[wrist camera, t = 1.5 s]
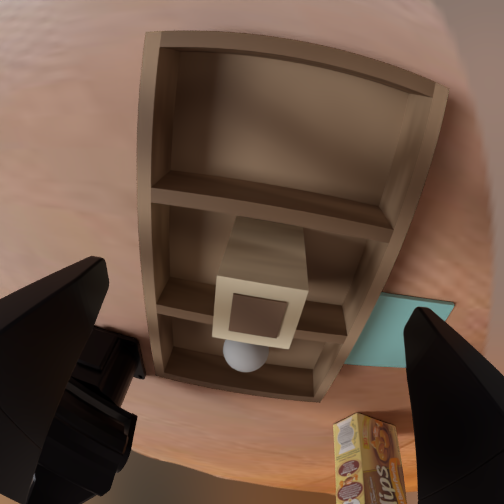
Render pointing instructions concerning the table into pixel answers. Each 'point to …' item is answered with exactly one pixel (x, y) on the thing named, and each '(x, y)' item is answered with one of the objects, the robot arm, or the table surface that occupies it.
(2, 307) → the robot arm
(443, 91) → the caddy
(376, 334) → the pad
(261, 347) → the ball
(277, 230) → the block with dark square
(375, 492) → the candy box
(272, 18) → the table surface
